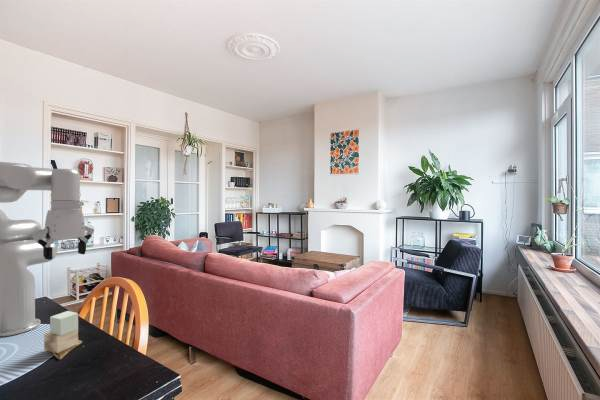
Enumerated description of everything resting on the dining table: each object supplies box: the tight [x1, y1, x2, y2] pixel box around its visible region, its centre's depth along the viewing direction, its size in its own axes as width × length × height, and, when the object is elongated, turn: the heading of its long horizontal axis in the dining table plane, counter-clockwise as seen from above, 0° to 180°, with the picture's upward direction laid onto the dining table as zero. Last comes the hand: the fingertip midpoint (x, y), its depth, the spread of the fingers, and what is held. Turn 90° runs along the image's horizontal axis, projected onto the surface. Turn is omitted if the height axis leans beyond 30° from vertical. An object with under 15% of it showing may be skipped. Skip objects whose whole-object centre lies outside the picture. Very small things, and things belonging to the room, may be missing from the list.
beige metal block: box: [43, 328, 79, 353], centre depth 92 cm, size 6×6×5 cm
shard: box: [52, 339, 83, 360], centre depth 91 cm, size 11×8×2 cm
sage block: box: [49, 310, 79, 336], centre depth 92 cm, size 5×5×5 cm
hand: (65, 256), depth 99 cm, fingers open, 9 cm apart
